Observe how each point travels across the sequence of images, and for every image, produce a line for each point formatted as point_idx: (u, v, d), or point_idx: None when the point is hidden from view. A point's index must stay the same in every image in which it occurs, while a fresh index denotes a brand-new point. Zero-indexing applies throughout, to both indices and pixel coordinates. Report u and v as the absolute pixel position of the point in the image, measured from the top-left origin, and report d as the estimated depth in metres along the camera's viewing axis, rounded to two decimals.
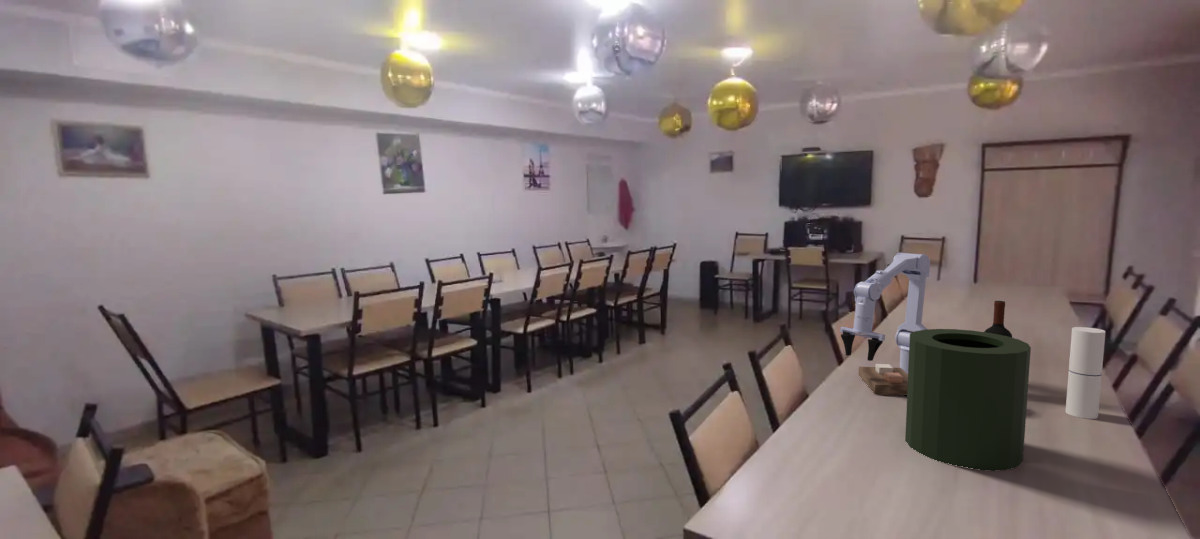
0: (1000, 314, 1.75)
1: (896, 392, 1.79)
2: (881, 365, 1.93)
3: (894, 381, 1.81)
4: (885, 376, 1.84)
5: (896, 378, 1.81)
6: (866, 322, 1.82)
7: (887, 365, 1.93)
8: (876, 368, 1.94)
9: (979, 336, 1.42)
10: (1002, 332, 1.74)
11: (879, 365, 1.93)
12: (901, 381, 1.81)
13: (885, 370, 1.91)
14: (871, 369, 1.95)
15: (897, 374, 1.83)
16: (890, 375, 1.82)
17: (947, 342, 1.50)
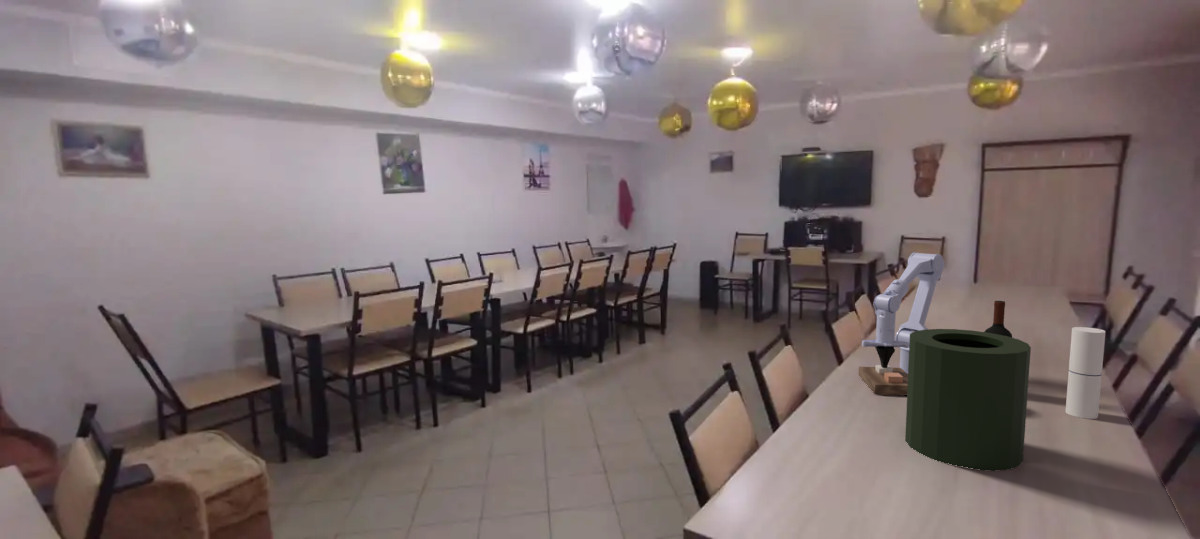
0: (1000, 314, 1.75)
1: (896, 392, 1.79)
2: None
3: (894, 381, 1.81)
4: (885, 376, 1.84)
5: (896, 378, 1.81)
6: (893, 333, 1.89)
7: (887, 366, 1.93)
8: (876, 369, 1.94)
9: (979, 336, 1.42)
10: (1002, 332, 1.74)
11: (879, 366, 1.93)
12: (901, 381, 1.81)
13: (885, 371, 1.91)
14: (871, 369, 1.95)
15: (897, 374, 1.83)
16: (890, 375, 1.82)
17: (947, 342, 1.50)
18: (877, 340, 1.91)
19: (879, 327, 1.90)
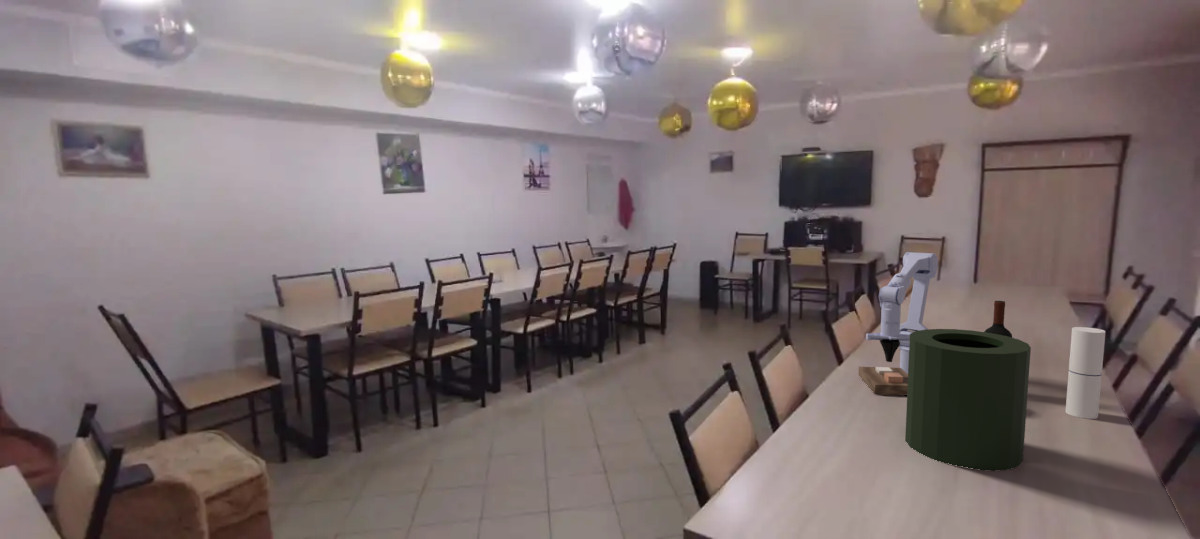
0: (1000, 314, 1.75)
1: (896, 392, 1.79)
2: (881, 368, 1.93)
3: (894, 381, 1.81)
4: (885, 376, 1.84)
5: (896, 378, 1.81)
6: (898, 326, 1.84)
7: (887, 368, 1.93)
8: None
9: (979, 336, 1.42)
10: (1002, 332, 1.74)
11: (879, 368, 1.93)
12: (901, 381, 1.81)
13: None
14: (871, 369, 1.95)
15: (897, 374, 1.83)
16: (890, 375, 1.82)
17: (947, 342, 1.50)
18: (882, 333, 1.86)
19: (885, 320, 1.84)
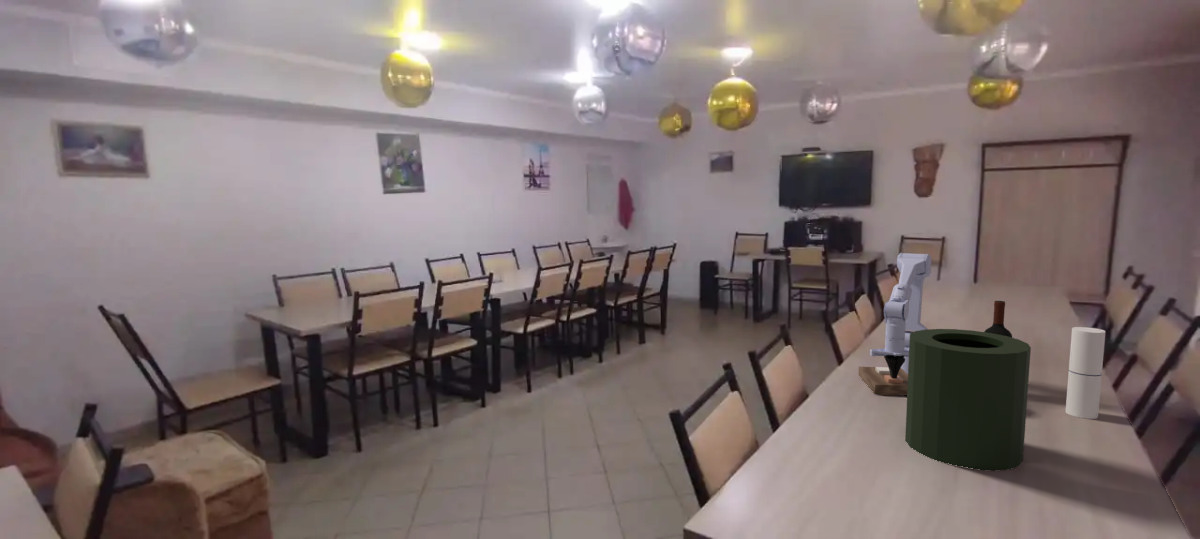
0: (1000, 314, 1.75)
1: (896, 392, 1.79)
2: (881, 368, 1.93)
3: None
4: (885, 379, 1.84)
5: (896, 381, 1.81)
6: (903, 342, 1.79)
7: (887, 368, 1.93)
8: None
9: (979, 336, 1.42)
10: (1002, 332, 1.74)
11: (879, 368, 1.93)
12: None
13: (885, 373, 1.91)
14: (871, 369, 1.95)
15: (897, 377, 1.83)
16: (890, 378, 1.82)
17: (947, 342, 1.50)
18: (886, 349, 1.82)
19: (891, 336, 1.79)
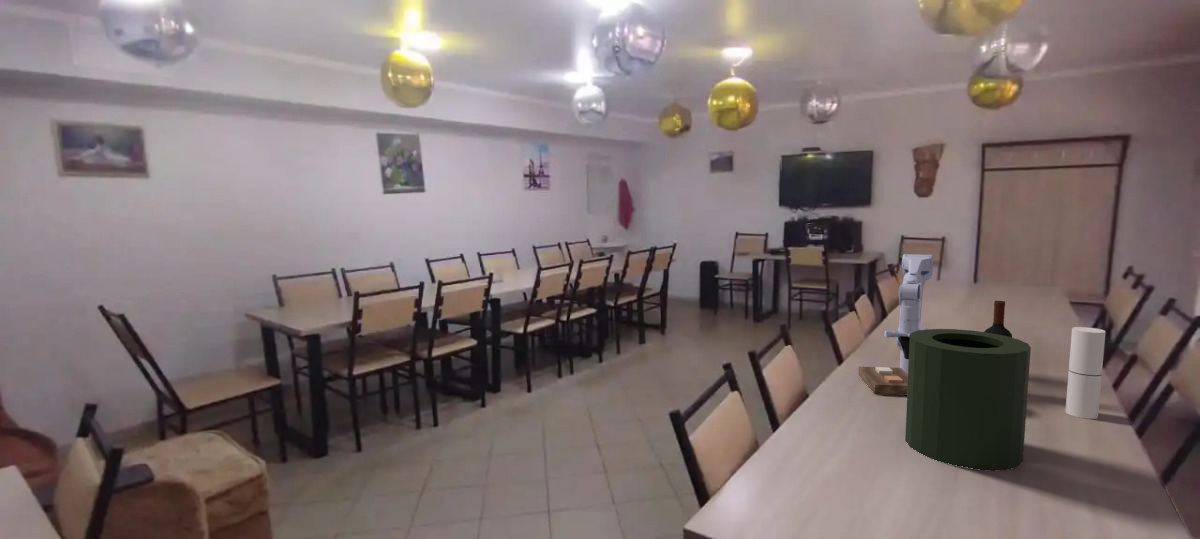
0: (1000, 314, 1.75)
1: (896, 392, 1.79)
2: (881, 368, 1.93)
3: None
4: (885, 379, 1.84)
5: (896, 381, 1.81)
6: (917, 323, 1.83)
7: (887, 368, 1.93)
8: None
9: (979, 336, 1.42)
10: (1002, 332, 1.74)
11: (879, 368, 1.93)
12: None
13: (885, 373, 1.91)
14: (871, 369, 1.95)
15: (897, 377, 1.83)
16: (890, 379, 1.82)
17: (947, 342, 1.50)
18: (900, 330, 1.86)
19: (906, 318, 1.83)
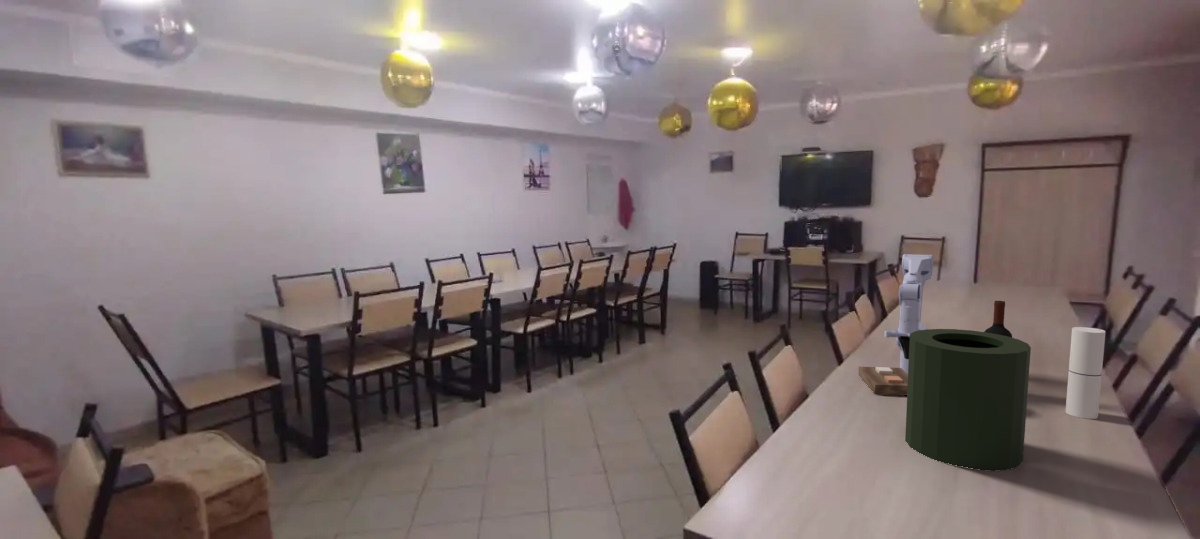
0: (1000, 314, 1.75)
1: (896, 392, 1.79)
2: (881, 368, 1.93)
3: None
4: (885, 379, 1.84)
5: (896, 381, 1.81)
6: (917, 323, 1.83)
7: (887, 368, 1.93)
8: None
9: (979, 336, 1.42)
10: (1002, 332, 1.74)
11: (879, 368, 1.93)
12: None
13: (885, 373, 1.91)
14: (871, 369, 1.95)
15: (897, 377, 1.83)
16: (890, 379, 1.82)
17: (947, 342, 1.50)
18: (900, 330, 1.86)
19: (907, 318, 1.83)
